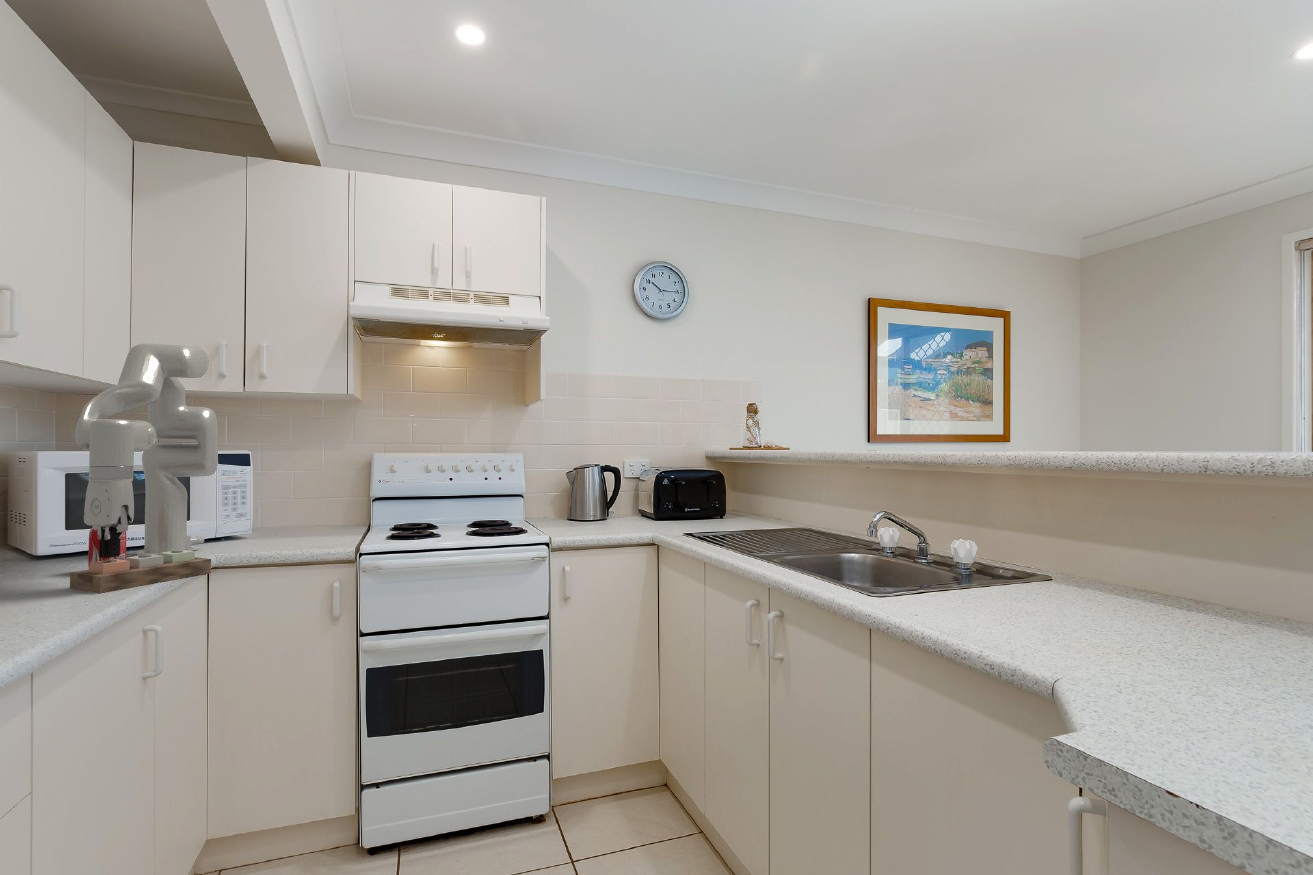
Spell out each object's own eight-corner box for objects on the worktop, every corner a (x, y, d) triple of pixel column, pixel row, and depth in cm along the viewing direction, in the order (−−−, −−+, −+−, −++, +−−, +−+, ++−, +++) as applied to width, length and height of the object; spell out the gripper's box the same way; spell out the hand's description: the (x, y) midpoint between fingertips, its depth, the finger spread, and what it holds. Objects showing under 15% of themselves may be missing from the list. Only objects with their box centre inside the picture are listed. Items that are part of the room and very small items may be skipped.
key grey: (149, 566, 150) (150, 553, 150) (163, 568, 149) (163, 554, 149) (125, 570, 146) (125, 556, 146) (139, 572, 144) (139, 558, 144)
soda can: (94, 569, 158) (95, 522, 158) (129, 567, 161) (130, 520, 161) (83, 575, 152) (84, 525, 152) (120, 573, 155) (121, 524, 155)
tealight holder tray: (181, 569, 160) (181, 555, 160) (210, 573, 156) (211, 558, 156) (69, 588, 139) (70, 572, 139) (100, 593, 134) (100, 576, 135)
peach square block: (115, 572, 144) (115, 558, 144) (129, 574, 142) (129, 559, 142) (89, 576, 139) (89, 561, 139) (103, 578, 137) (103, 563, 138)
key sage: (181, 561, 157) (181, 548, 157) (194, 563, 155) (194, 550, 155) (159, 565, 152) (159, 552, 152) (172, 567, 150) (172, 553, 151)
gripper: (71, 474, 140) (68, 557, 140) (112, 475, 135) (110, 562, 134) (110, 473, 147) (108, 552, 147) (151, 474, 142) (149, 556, 141)
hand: (109, 556), depth 141 cm, fingers closed
